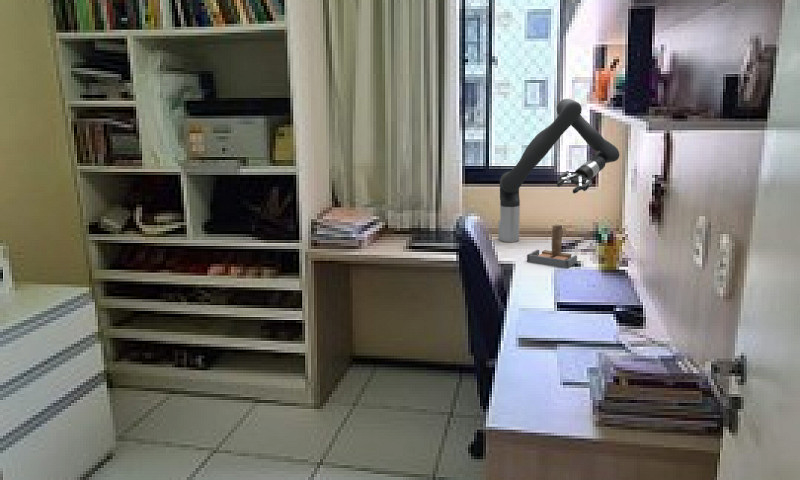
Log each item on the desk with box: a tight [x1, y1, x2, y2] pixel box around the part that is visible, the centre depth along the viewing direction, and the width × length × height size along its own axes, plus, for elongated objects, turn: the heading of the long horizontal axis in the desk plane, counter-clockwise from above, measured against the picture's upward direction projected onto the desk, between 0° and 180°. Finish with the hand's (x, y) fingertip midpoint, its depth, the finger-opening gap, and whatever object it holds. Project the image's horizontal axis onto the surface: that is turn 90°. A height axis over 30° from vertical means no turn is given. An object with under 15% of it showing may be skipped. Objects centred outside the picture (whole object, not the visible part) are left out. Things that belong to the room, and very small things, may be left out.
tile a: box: [538, 252, 553, 258], centre depth 248 cm, size 5×5×2 cm
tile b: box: [554, 256, 568, 260], centre depth 244 cm, size 5×5×2 cm
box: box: [526, 249, 578, 269], centre depth 246 cm, size 18×10×3 cm, turn 52°
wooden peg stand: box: [541, 224, 572, 259], centre depth 248 cm, size 12×3×15 cm, turn 52°
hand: (565, 188), depth 265 cm, fingers open, 8 cm apart
